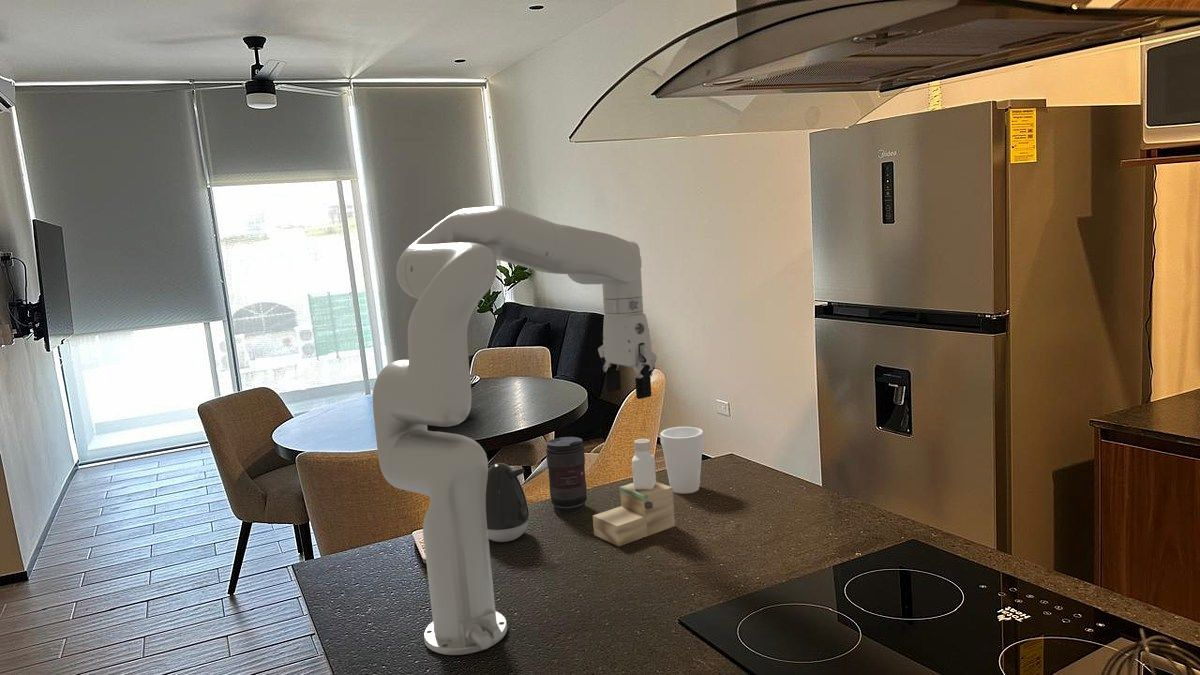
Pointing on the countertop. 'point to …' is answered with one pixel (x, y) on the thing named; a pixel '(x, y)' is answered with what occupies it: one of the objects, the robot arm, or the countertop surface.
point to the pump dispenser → (505, 504)
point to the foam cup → (683, 457)
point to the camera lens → (567, 474)
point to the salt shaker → (643, 466)
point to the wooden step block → (636, 515)
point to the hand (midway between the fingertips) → (628, 394)
